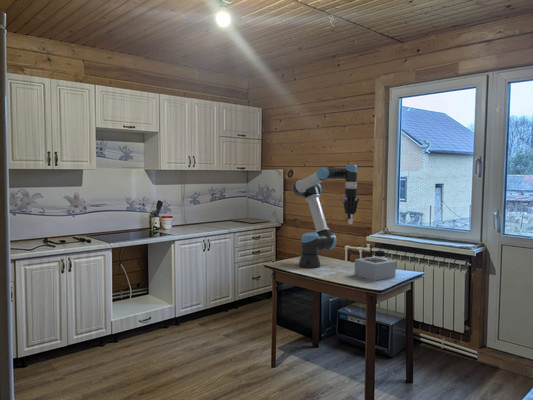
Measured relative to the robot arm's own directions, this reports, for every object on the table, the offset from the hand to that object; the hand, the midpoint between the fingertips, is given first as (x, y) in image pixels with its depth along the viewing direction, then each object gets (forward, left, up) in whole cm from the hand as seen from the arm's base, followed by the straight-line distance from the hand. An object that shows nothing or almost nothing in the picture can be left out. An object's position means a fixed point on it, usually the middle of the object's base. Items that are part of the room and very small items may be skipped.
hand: (350, 223), depth 279 cm
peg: (+16, +7, -31) cm, 35 cm away
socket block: (+16, +7, -32) cm, 37 cm away
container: (+5, +23, -33) cm, 40 cm away
